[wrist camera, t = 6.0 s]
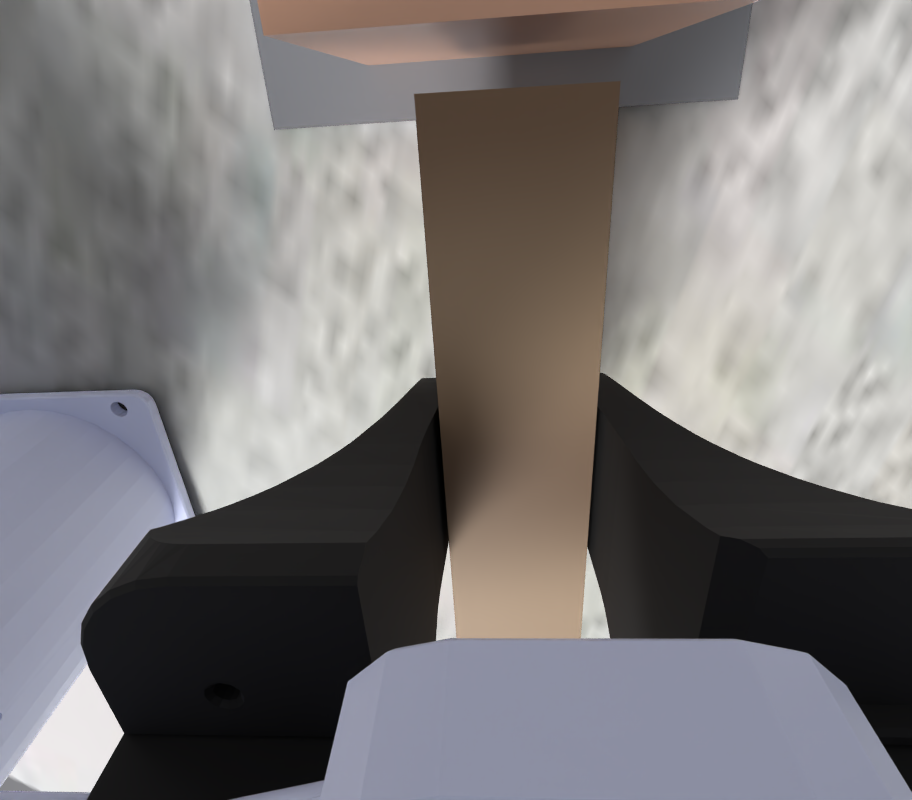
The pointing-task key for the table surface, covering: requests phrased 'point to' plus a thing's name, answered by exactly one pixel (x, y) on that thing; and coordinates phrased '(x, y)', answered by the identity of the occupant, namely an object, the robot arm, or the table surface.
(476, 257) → the bar
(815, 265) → the table surface
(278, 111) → the mat
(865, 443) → the table surface
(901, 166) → the table surface
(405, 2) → the block
